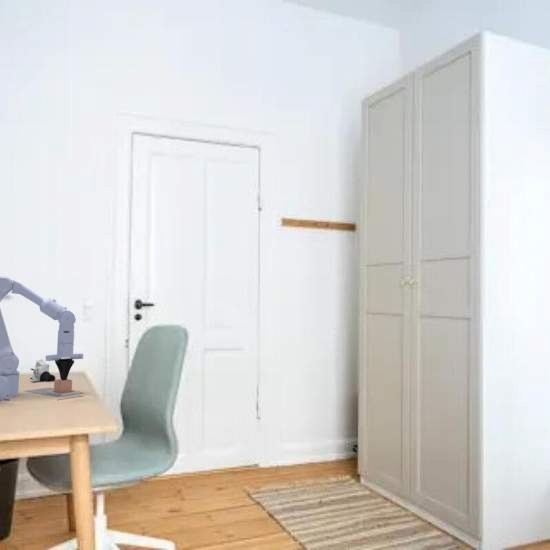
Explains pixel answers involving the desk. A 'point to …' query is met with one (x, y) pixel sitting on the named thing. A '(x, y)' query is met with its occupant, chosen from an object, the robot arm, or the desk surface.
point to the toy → (42, 372)
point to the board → (43, 390)
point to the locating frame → (62, 393)
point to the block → (62, 386)
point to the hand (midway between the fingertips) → (63, 379)
